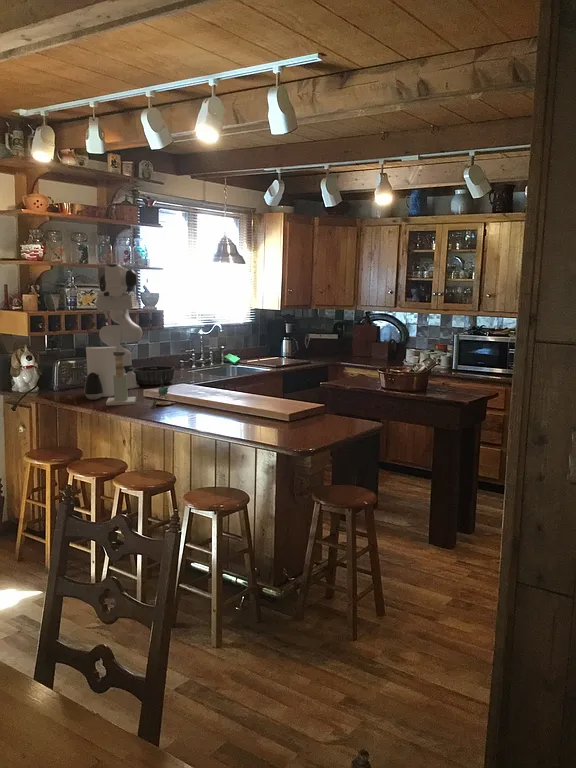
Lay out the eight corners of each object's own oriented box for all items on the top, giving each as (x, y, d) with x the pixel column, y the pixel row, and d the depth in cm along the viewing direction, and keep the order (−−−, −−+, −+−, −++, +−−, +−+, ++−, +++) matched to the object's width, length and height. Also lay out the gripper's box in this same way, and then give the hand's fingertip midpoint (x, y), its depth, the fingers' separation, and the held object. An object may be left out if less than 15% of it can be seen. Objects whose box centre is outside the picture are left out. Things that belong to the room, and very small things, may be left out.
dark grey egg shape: (92, 401, 380) (90, 374, 377) (81, 399, 386) (79, 372, 384) (107, 398, 388) (105, 372, 385) (95, 396, 394) (94, 370, 392)
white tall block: (114, 396, 393) (112, 348, 389) (84, 396, 394) (81, 348, 389) (122, 391, 410) (120, 345, 406) (93, 391, 411) (91, 345, 406)
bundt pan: (124, 385, 432) (124, 369, 430) (148, 379, 456) (148, 364, 454) (160, 387, 422) (159, 371, 420) (182, 381, 446) (182, 366, 444)
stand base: (108, 400, 382) (107, 372, 379) (136, 399, 384) (134, 372, 382) (106, 405, 367) (104, 376, 365) (134, 404, 370) (133, 375, 367)
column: (116, 397, 378) (113, 351, 374) (127, 397, 379) (124, 351, 375) (115, 399, 372) (112, 352, 368) (126, 399, 373) (124, 352, 369)
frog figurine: (142, 407, 363) (143, 379, 362) (169, 405, 376) (170, 378, 375) (153, 409, 356) (154, 380, 355) (180, 407, 369) (181, 380, 368)
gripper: (128, 293, 388) (129, 317, 390) (94, 293, 375) (95, 318, 377) (133, 292, 383) (135, 317, 385) (99, 293, 370) (100, 319, 372)
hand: (115, 318), depth 381 cm, fingers open, 8 cm apart
